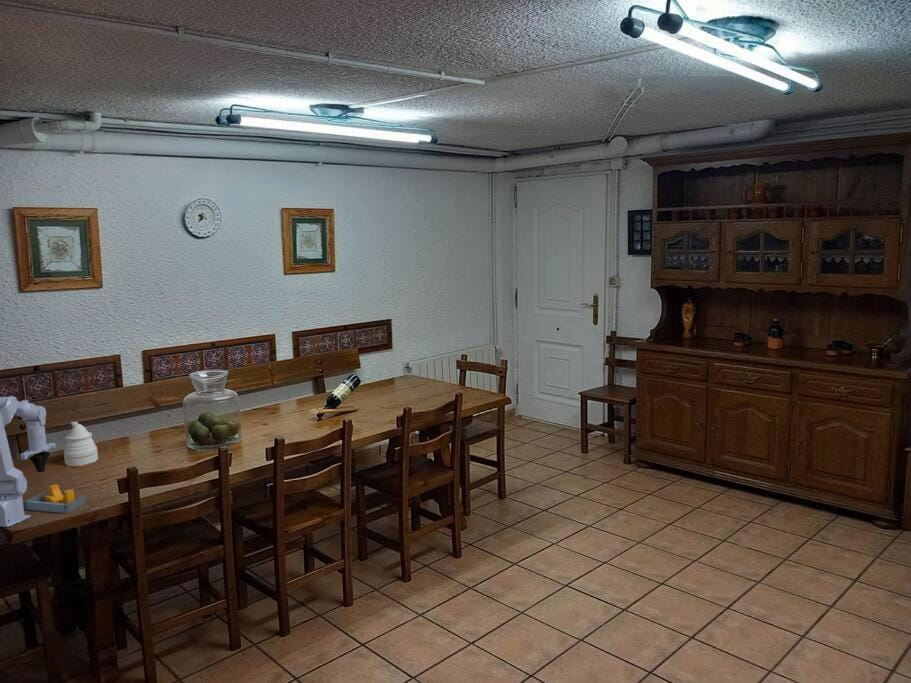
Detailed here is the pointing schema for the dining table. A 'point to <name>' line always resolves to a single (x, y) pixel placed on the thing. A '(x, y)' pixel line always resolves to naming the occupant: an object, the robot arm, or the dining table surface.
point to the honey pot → (80, 446)
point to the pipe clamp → (59, 495)
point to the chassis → (52, 504)
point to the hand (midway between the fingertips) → (40, 471)
